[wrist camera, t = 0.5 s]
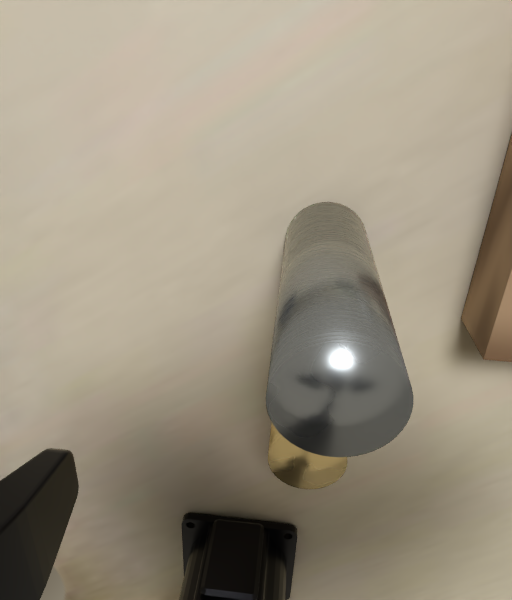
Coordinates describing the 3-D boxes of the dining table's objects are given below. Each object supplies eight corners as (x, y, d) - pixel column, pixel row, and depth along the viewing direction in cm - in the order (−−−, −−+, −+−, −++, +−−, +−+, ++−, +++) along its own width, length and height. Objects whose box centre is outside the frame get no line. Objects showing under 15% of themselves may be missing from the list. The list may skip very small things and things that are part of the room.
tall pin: (360, 280, 20) (398, 463, 11) (283, 274, 20) (262, 449, 12) (371, 204, 19) (426, 349, 10) (288, 199, 19) (269, 336, 10)
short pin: (337, 426, 24) (342, 492, 21) (272, 420, 24) (265, 484, 21) (345, 373, 23) (352, 435, 19) (276, 367, 23) (270, 427, 19)
